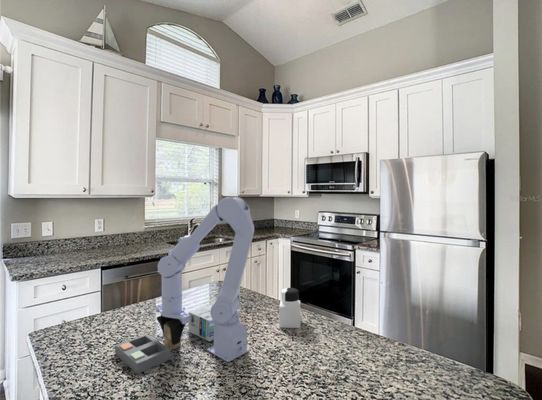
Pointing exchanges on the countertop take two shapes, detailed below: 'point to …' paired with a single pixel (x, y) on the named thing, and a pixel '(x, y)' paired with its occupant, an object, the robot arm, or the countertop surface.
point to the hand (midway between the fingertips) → (172, 341)
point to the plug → (169, 338)
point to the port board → (147, 350)
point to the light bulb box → (202, 323)
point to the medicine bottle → (289, 308)
